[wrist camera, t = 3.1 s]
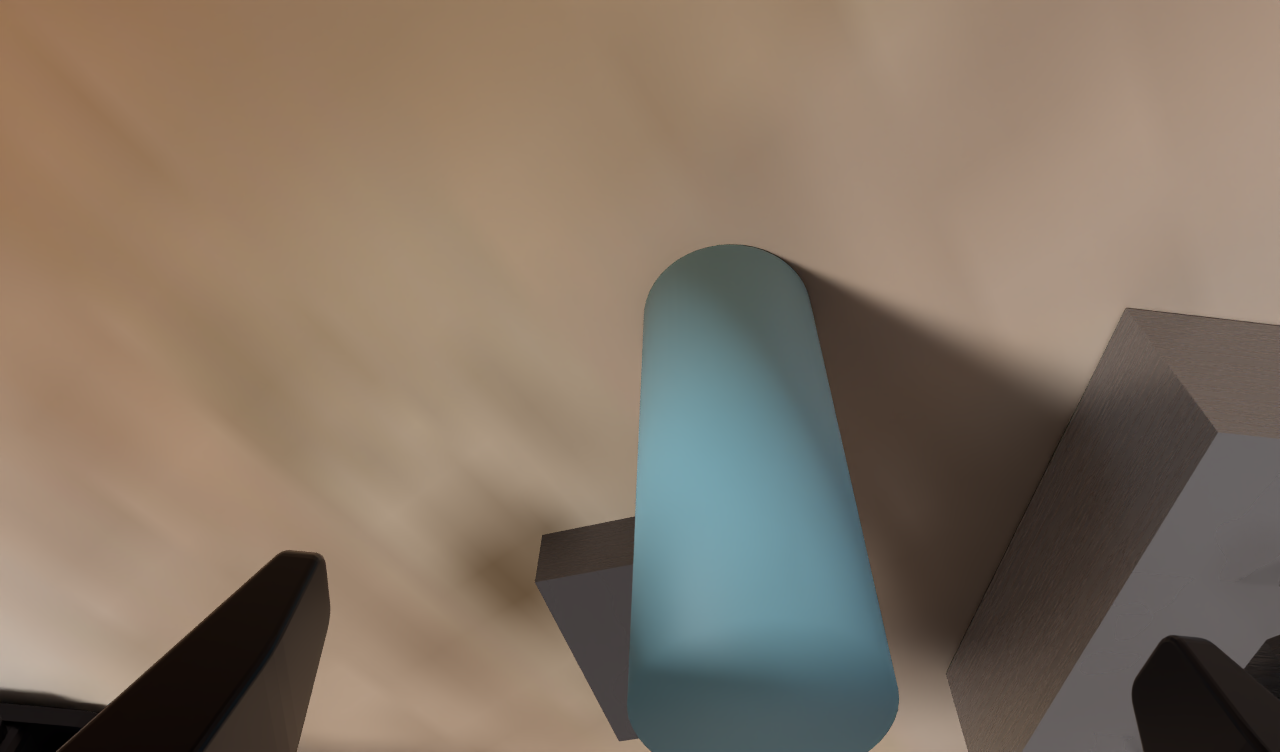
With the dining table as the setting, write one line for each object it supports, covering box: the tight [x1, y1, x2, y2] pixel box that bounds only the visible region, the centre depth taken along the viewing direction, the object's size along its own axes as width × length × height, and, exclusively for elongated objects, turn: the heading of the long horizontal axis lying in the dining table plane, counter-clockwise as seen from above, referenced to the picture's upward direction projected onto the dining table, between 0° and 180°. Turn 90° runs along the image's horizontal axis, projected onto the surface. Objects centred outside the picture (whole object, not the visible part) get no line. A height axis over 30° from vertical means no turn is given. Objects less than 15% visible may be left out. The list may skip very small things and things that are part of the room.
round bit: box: [627, 245, 899, 752], centre depth 12 cm, size 3×3×7 cm
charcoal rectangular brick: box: [535, 517, 638, 741], centre depth 19 cm, size 5×2×2 cm, turn 17°
